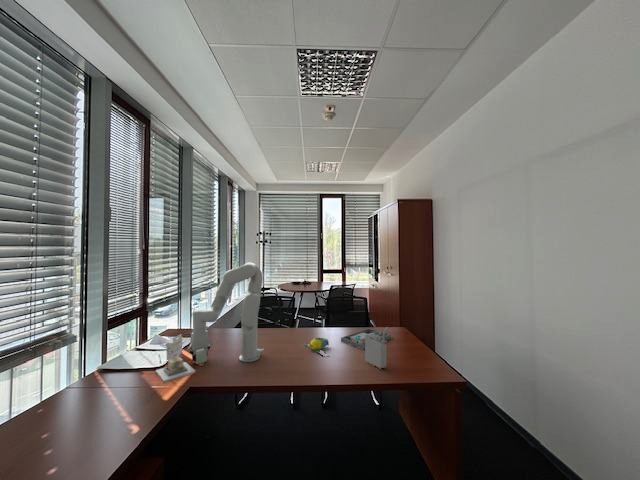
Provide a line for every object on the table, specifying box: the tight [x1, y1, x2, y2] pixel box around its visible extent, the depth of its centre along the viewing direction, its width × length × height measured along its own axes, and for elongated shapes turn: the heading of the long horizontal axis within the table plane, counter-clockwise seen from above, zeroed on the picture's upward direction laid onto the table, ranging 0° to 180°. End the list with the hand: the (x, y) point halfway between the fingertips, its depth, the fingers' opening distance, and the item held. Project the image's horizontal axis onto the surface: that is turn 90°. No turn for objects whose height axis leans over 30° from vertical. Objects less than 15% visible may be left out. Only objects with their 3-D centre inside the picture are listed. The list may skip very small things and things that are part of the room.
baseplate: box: [155, 361, 196, 383], centre depth 160 cm, size 16×16×2 cm
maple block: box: [167, 357, 184, 373], centre depth 160 cm, size 6×6×6 cm
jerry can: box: [364, 326, 390, 368], centre depth 169 cm, size 15×5×25 cm, turn 35°
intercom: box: [349, 331, 382, 345], centre depth 216 cm, size 13×4×25 cm
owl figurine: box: [303, 337, 330, 354], centre depth 194 cm, size 28×9×15 cm
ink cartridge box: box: [165, 333, 183, 361], centre depth 177 cm, size 9×5×15 cm, turn 168°
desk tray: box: [340, 327, 392, 350], centre depth 212 cm, size 33×21×3 cm, turn 133°
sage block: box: [194, 348, 208, 365], centre depth 174 cm, size 6×6×6 cm
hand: (200, 359), depth 174 cm, fingers closed on sage block, 6 cm apart
